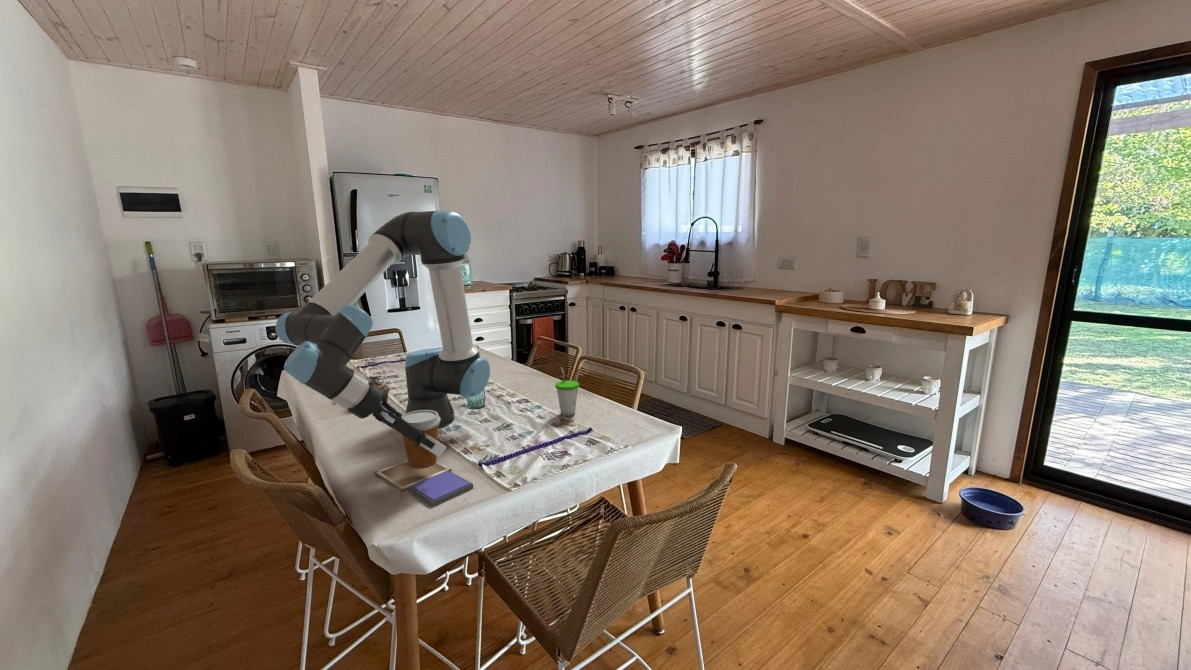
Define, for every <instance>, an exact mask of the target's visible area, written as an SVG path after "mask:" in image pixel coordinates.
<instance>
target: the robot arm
mask: <svg viewBox="0 0 1191 670" xmlns="http://www.w3.org/2000/svg"><path fill="white" fill-rule="evenodd" d="M367 243H368V244H367V245H366V246H365V247H364V248H363V249H362V250H360V252H359V253H357V254H356V255H355V256H354V257H353V258H352V259H351V260H350V261H349V262H348V263H347V264H346V265H345V266H344V267H343V268H342V269H340V271H339V272H338V273H337V274H336V275H334V277H332V279H331V280H330V281H328V282H327V283H326V284H325V285H324V286H323V287H322V288H321V289H320V290H319V291H318V292H317V293H316V294H315V295H314V296H313V297H312V298H311V299H310V300H309V301H308V302H306V303H305V304H304V305H303V306H302V307H301V308H300V309H299V310H298V311H290V312H286V313H283V314H281V315H280V316H279V317H278V319H277V320H276V322H275V327H274V328H275V334H276V335H277V338H278V339H279V340H280V341H281V342H283V343H285V344H288V345H293V346H296V348H295V350H293V351H292V352H291V353H290V355H289V356H288V357H287V359H285V362H284V365H283V369H284V371H285V372H286V373H287V374H289V376H291V377H292V378H294V380H295V379H296V380H297V381H298V382H299V383H300V384H302V385H305V386H306V387H308V388H310V389H312V390H313V391H315V392H317V393H319V394H321V395H322V396H323V397H325V398H326V399H329V400H330V401H331V405H332V406H336V405H338V406H340V407H342V408H343V409H345V410H346V409H347V411H348V412H349V413H351V414H352V415H354V416H355V417H357V418H358V419H366V418H368V417H369V416H371V415H372V416H373V417H374V419H375V420H377V421H379V422H380V423H383V424H384V425H386V426H387V427H389V428H391V429H394V430H395V431H397V433H399V434H401V435H402V434H403V435H404V436H406V437H407V438H409V439H410V440H412V441H413V442H415V443H416V444H415V446H416V447H417V446H418V445H421V446H422V447H424V448H425V449H427V450H429V451H430V452H432V453H433V454H435V455H436V456H437V458H440V456H441V455H442V454H443V453H444V451H445V450H446V449H447V446H446V445H444V444H443V443H440V441H439V440H438V441H436V440H435V439H433V438H432V437H430V436H429V435H427V434H425V433H422V432H421V431H419V430H418V429H417V428H415V427H414V426H412V425H411V424H410V423H408V422H407V421H405V420H404V419H402V415H404V414H406V413H409V412H413V411H418V410H432V411H436V412H437V413H438V415H439V417H440V418H441V420H440V423H439V428H442V427H445V426H448V425H450V424H451V423H453V422H454V421H455V418H456V417H455V416H456V415H455V410H454V408H453V405H452V404H451V401H450V398H449V396H448V394H449V395H457V396H461V397H476V396H479V395H480V394H481V393H483V392H484V390H485V388H486V387H487V385H488V383H489V380H490V375H491V366H490V363H489V362H490V361H488V360H487V359H486V358H484V357H481V355H480V349H479V347H477V346H476V345H475V344H474V343H473V337H472V330H471V324H470V319H469V312H468V304H467V300H466V299H467V298H466V291H465V286H464V280H463V273H462V267H461V266H462V264H463V263H464V261H465V259H466V257H465V254H467V252H469V250H470V248H471V243H472V236H471V231H470V227H469V225H468V223H467V221H466V220H465V219H464V218H463V217H462V216H461V215H460V214H459V213H457V212H455V211H450V210H449V211H448V210H427V211H425V210H423V211H406V212H404V213H400V214H399V215H397V216H394V217H392V218H391V219H390V220H388V221H387V222H385V223H384V224H383V225H381V226H380V227H379V228H378V229H376V230H375V231H374V233H372V234H371V235H370V236H369V237H368V241H367ZM413 255H416V256H417V255H418V256H420V261H421V265H422V266H424V267H425V268H427V269H428V273H429V278H430V284H431V288H432V289H431V290H432V295H433V301H434V307H435V312H436V317H437V323H438V329H439V333H440V339H441V346H442V347H432V348H425V349H420V350H416V351H413V352H412V351H411V352H410V353H408V354H406V356H405V359H404V363H405V364H404V371H405V379H406V389H407V398H408V399H407V405H406V409H405V412H404V414H402V413H401V412H399V411H397V409H396V408H394V407H393V406H391V404H390V403H388V401H387V402H385V401H383V402H382V401H381V400H382V399H383V396H384V392H383V390H382V389H380V388H379V387H377V386H376V385H374V384H373V383H369V382H368V380H367V379H366V378H367V377H366V378H365V377H364V376H363V375H362V374H359V373H358V372H357V371H356V370H354V369H352V368H350V367H348V363H349V361H351V358H352V357H353V355H354V354H355V353H356V352H357V350H358V349H359V347H360V346H361V345H362V343H363V342H364V341H365V339H366V338H367V337H368V334H369V332H370V331H371V329H372V327H373V326H374V320H373V318H372V317H371V315H370V314H368V313H367V311H365V310H363V309H362V308H360V307H358V306H356V305H354V304H356V302H357V301H358V300H359V299H360V298H361V297H362V296H363V295H364V294H365V293H366V291H368V290H369V288H370V287H371V286H372V285H373V284H375V282H376V281H377V280H378V279H379V278H380V277H381V276H382V275H383V274H384V273H385V272H386V271H387V269H388V268H390V266H391V265H397V264H399V263H400V262H401V261H402V260H403V259H404V258H406V257H408V256H413Z"/></svg>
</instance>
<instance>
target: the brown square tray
mask: <svg viewBox="0 0 1191 670" xmlns="http://www.w3.org/2000/svg"><path fill="white" fill-rule="evenodd" d="M445 471H450V472H452V471H453V470H452V468H450V467H448V466H447V465H445V464H442V463H441V462H440V461H437V462H436V463H435V464H434V465H432V466H430V467H427V468H423V469H415V468H411V467H410V466H409V462H408V459H406V460H403V461H402V462H399V463H396V464H394V465H390V466H387V467H384V468H382V469H380V470H377V471H374V473H375V475H376V476H378V477H379V478H380V477H381V480H383V481H384V482H385V483H388V484H389V485H390V486H392V487H394V488H395V489H397V490H398V491H400V492H402V493H403V492H405V491H407V490H409V486H411V485H414V484H416V483H418V482H421V481H423V480H426V479H428V478H431V477H433V476H436V475H438V474H440V473H443V472H445Z"/></svg>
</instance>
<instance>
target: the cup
mask: <svg viewBox="0 0 1191 670" xmlns="http://www.w3.org/2000/svg"><path fill="white" fill-rule="evenodd" d="M560 370H561V372H562V373H561V374H562V380H560V381H557V382H556V383H554V386H555V388H556V392H557V397H558V404H559V409H560V410H559V411H560V415H561V416H563V415H564V417H571V416H574V415H575V414H576V409H577V408H576V406H577V400H578V391H579V388H580V383H579V381H576V380H568V379H566V380H565V371H564V369H563V367H562V366H561V367H560Z"/></svg>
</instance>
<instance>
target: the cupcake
mask: <svg viewBox="0 0 1191 670" xmlns="http://www.w3.org/2000/svg"><path fill="white" fill-rule="evenodd" d="M366 379H367V380H368V382H369V383H373V384H374V385H376V386H377V387H379V388H380V389H382V390H383V392H384V396H383V399H382V400H381V401H382V402H383V401H385V402H387V403H388V399H389V398H388V397H389V393H390V389H389V386H388V385H387V382H386V381H385V380H384V377H383V376H382V375H376V376H371V375H369V376H368V377H366Z"/></svg>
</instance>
